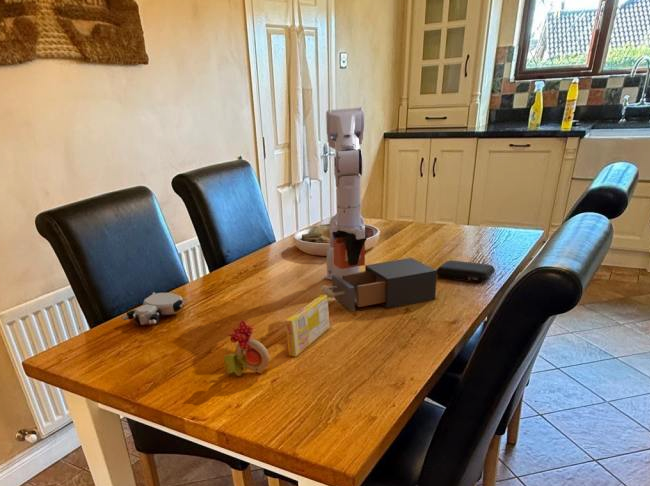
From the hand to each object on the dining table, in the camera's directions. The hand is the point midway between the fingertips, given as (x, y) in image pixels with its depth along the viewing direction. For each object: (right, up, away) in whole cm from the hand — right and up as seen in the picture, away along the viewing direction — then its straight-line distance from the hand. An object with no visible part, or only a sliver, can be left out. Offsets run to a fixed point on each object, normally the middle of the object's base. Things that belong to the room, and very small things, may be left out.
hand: (349, 262), depth 130 cm
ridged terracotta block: (0, -1, 0) cm, 1 cm away
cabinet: (+14, -7, +6) cm, 17 cm away
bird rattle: (-23, -29, -25) cm, 45 cm away
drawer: (+2, -9, +3) cm, 10 cm away
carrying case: (+34, 0, +15) cm, 38 cm away
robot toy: (-50, -14, +5) cm, 52 cm away
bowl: (+2, +19, +52) cm, 56 cm away
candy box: (-11, -22, -15) cm, 28 cm away
